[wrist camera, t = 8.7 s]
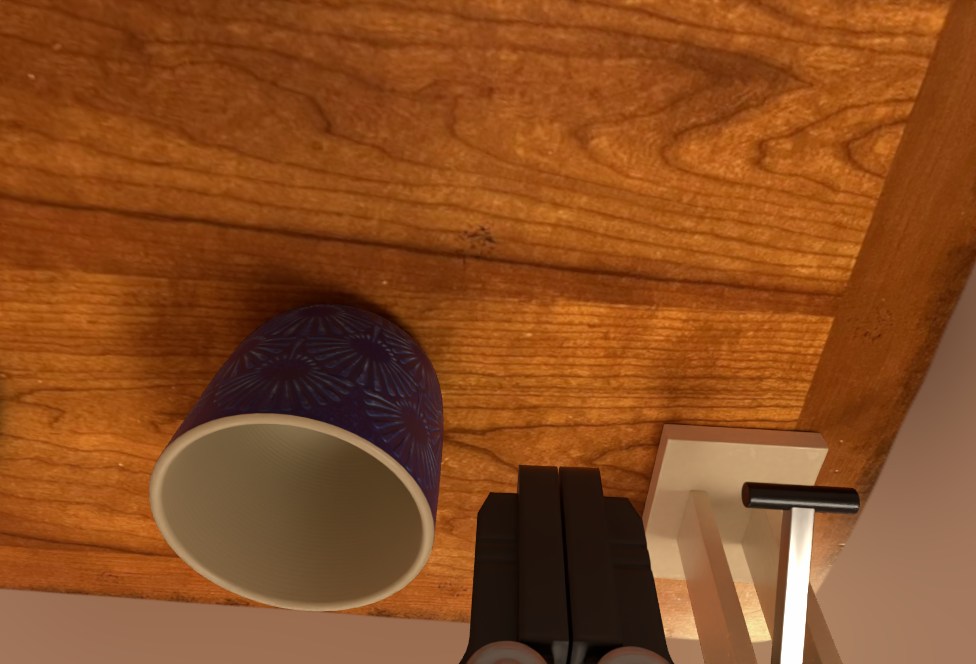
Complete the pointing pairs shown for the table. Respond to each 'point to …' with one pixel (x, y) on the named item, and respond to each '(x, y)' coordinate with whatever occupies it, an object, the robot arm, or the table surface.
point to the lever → (795, 553)
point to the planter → (308, 464)
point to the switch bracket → (728, 529)
